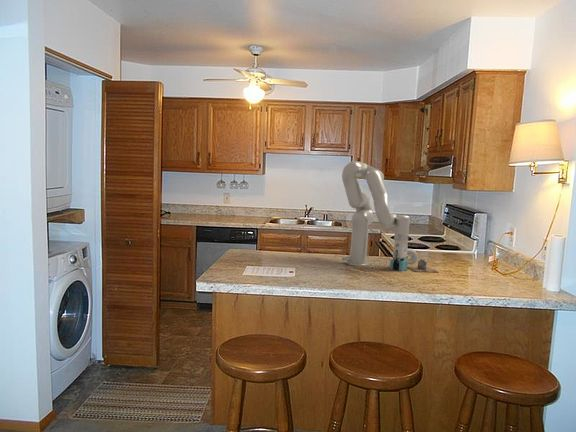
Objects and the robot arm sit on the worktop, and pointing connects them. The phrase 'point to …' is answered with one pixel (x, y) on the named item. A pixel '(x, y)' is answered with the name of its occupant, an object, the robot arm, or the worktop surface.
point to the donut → (414, 256)
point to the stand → (397, 270)
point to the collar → (400, 265)
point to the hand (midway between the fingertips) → (398, 268)
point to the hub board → (422, 267)
